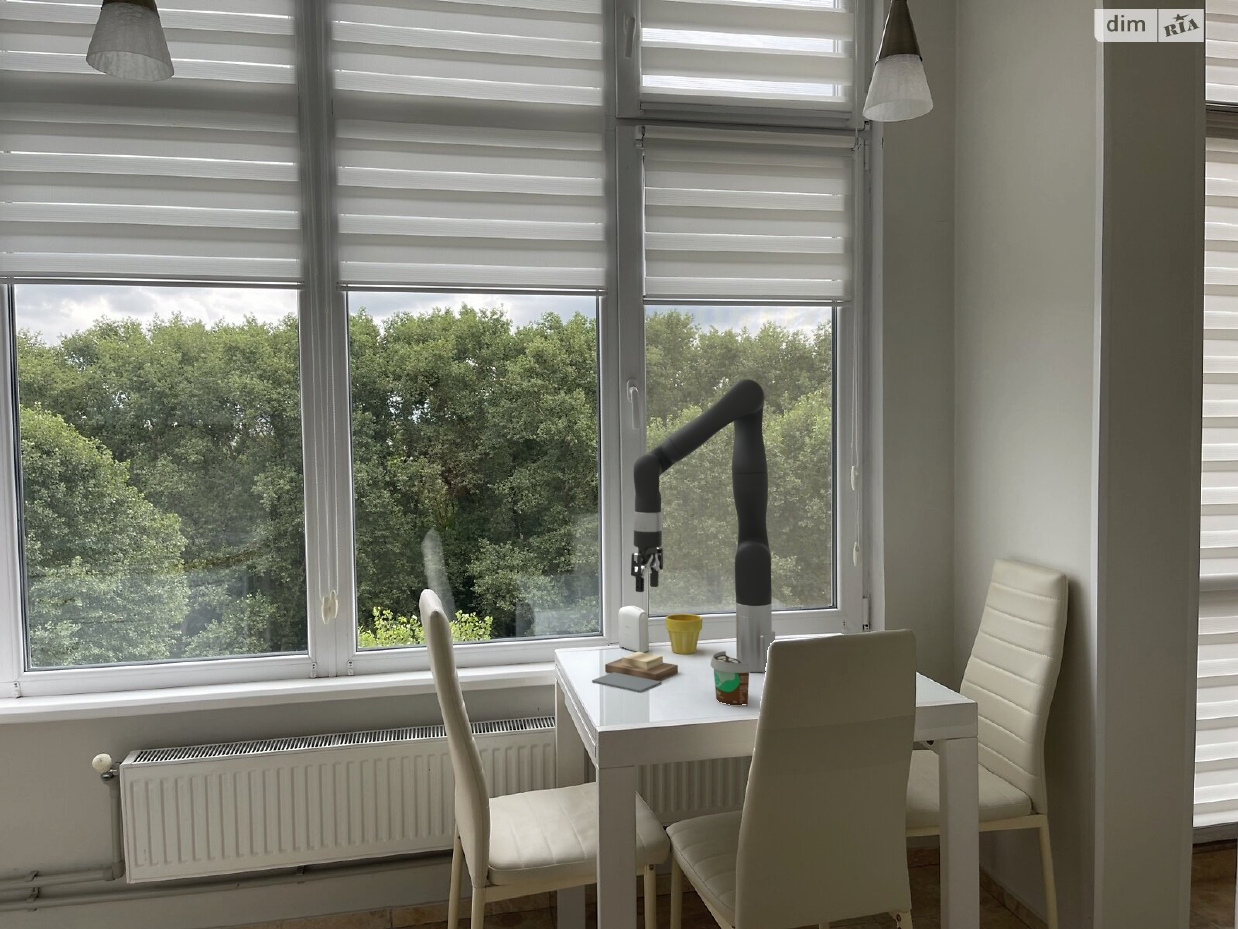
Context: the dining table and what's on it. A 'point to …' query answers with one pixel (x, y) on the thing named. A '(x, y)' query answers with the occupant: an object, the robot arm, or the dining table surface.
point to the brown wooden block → (643, 670)
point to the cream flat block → (642, 660)
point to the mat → (627, 682)
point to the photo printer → (633, 629)
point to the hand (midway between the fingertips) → (647, 589)
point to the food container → (730, 679)
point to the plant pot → (684, 632)
